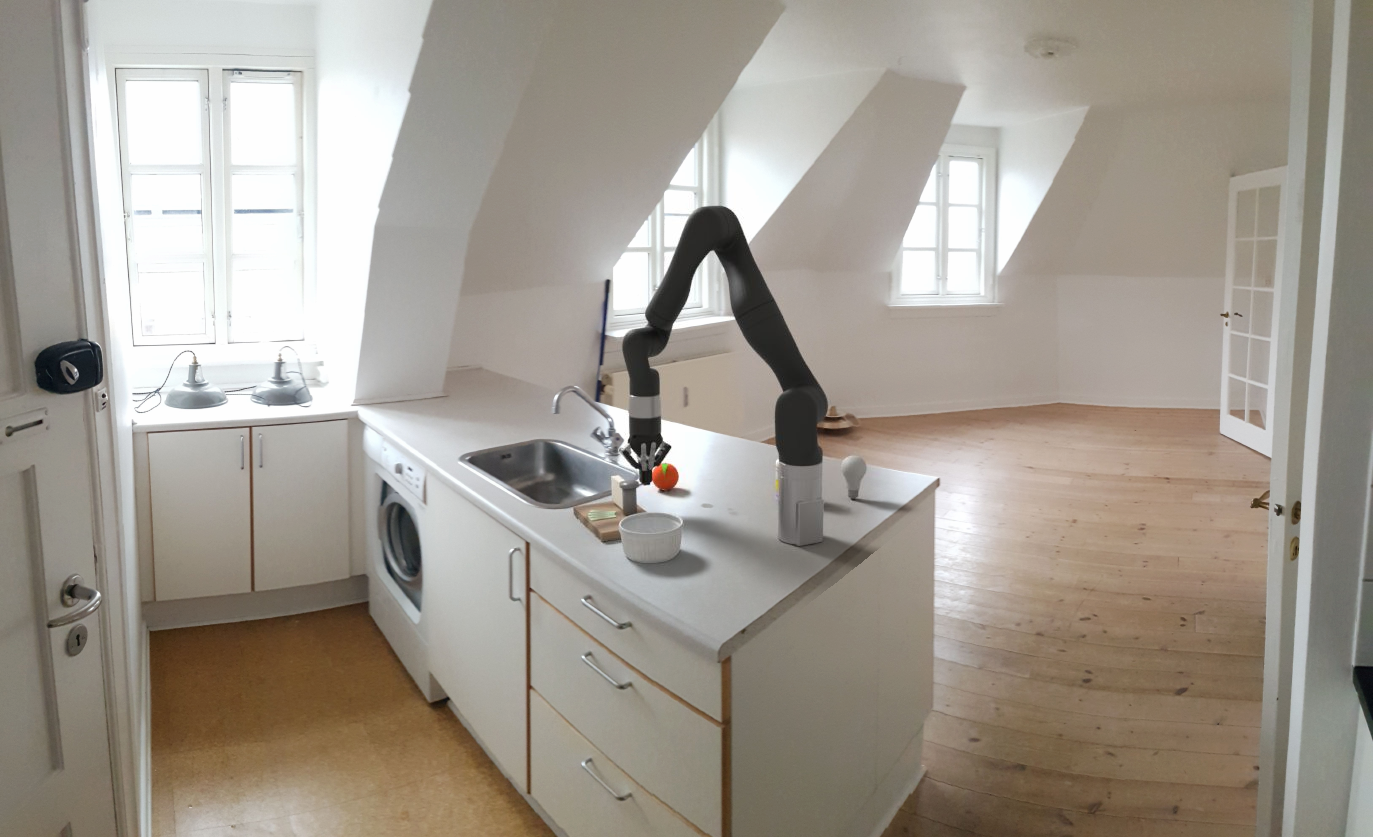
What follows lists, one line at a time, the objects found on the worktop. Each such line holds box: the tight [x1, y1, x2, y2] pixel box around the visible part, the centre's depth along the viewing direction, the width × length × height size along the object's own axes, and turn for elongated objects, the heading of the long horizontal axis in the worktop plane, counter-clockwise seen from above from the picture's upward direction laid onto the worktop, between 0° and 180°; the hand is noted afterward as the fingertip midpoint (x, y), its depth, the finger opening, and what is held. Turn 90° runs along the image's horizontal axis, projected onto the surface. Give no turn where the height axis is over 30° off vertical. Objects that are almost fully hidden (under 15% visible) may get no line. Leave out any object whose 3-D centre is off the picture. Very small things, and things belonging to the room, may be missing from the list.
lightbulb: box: [840, 455, 868, 500], centre depth 211 cm, size 6×6×11 cm
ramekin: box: [619, 511, 684, 564], centre depth 178 cm, size 13×13×7 cm
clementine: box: [652, 462, 680, 491], centre depth 221 cm, size 8×7×7 cm
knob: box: [610, 474, 640, 515], centre depth 200 cm, size 12×4×7 cm, turn 25°
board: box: [573, 500, 647, 543], centre depth 197 cm, size 20×14×2 cm
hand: (645, 484), depth 205 cm, fingers closed
